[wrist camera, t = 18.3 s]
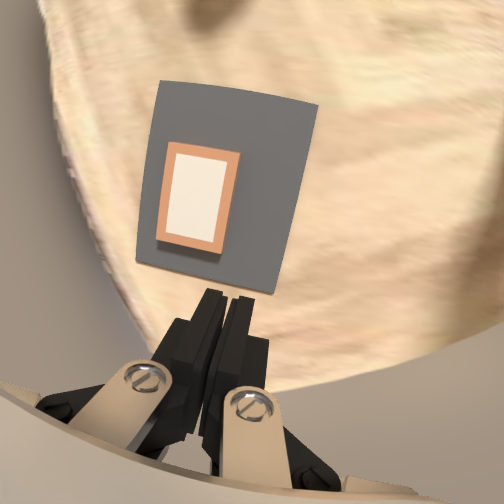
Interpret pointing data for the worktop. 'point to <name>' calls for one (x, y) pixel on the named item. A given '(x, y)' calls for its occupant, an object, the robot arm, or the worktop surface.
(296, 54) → the worktop surface
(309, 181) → the worktop surface
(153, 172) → the mat
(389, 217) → the worktop surface
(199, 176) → the block
